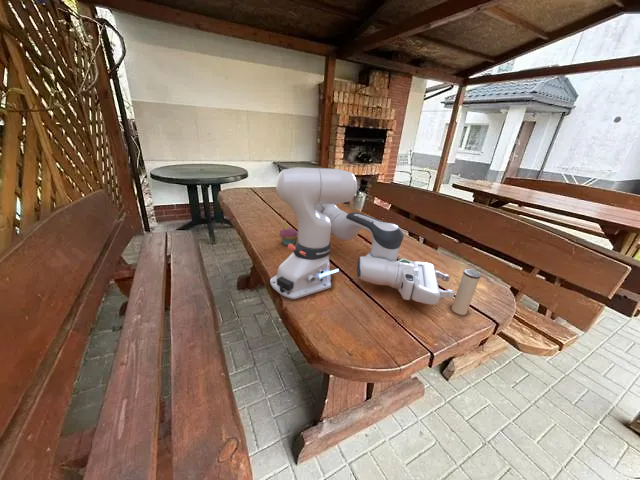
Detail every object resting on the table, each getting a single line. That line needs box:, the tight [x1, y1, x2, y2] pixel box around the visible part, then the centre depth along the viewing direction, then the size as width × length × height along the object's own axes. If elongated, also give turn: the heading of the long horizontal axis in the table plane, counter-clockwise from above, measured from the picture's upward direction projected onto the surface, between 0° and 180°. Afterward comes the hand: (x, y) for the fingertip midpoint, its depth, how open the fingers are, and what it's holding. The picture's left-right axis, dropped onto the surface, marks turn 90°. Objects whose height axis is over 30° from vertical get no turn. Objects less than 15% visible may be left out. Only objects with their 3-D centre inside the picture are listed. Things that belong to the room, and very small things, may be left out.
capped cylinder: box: [451, 268, 482, 316], centre depth 81 cm, size 5×5×14 cm
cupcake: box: [278, 220, 298, 246], centre depth 119 cm, size 9×8×12 cm
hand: (451, 285), depth 82 cm, fingers open, 8 cm apart
